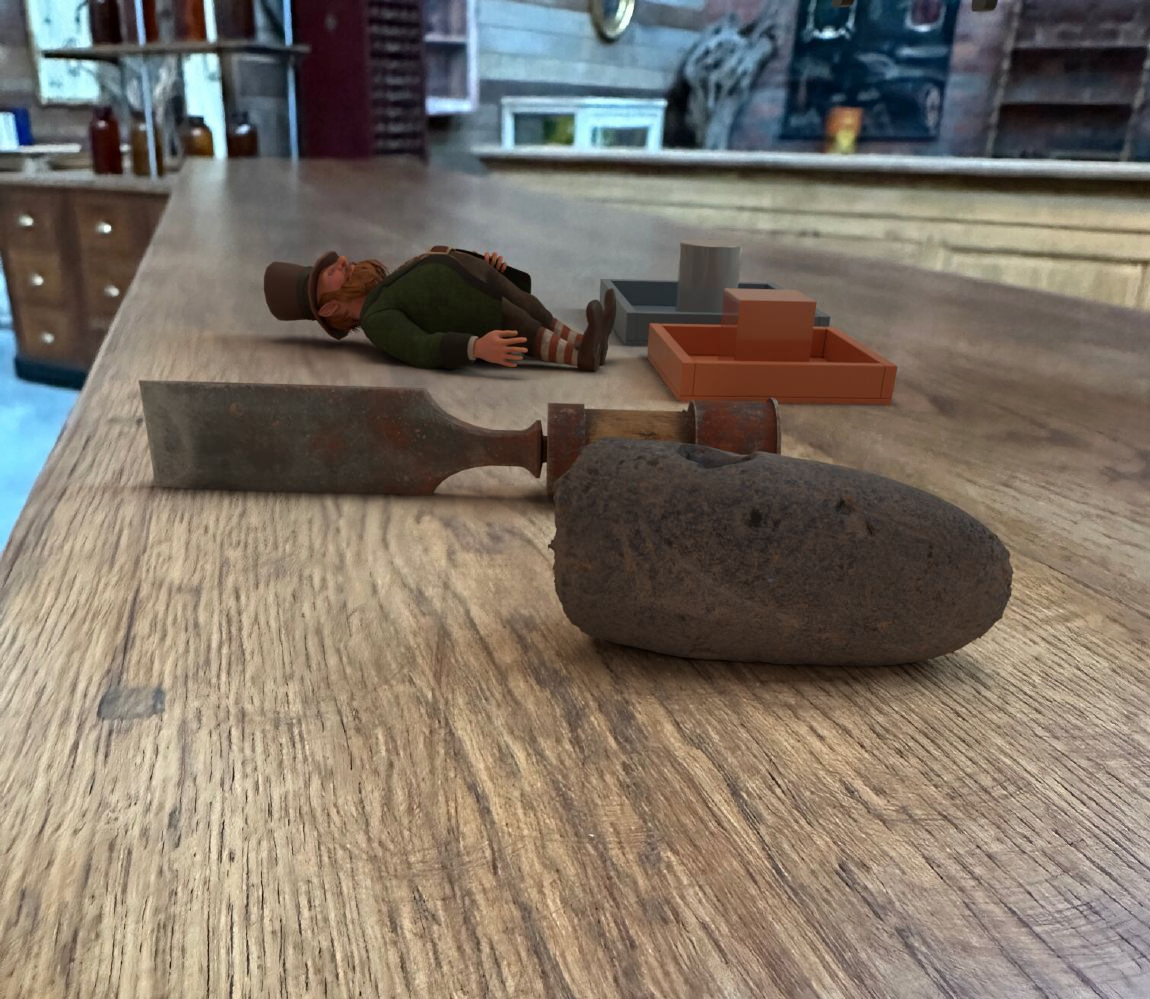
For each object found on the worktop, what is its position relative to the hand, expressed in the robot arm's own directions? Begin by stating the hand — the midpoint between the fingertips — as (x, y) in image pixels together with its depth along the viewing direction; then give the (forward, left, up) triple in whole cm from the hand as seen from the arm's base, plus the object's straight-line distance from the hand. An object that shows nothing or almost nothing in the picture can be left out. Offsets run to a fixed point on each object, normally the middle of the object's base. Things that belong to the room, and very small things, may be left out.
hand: (913, 8), depth 66 cm
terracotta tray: (+7, 0, -21) cm, 22 cm away
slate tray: (+7, -20, -21) cm, 30 cm away
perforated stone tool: (+17, +43, -22) cm, 51 cm away
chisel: (+27, +26, -22) cm, 43 cm away
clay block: (+7, 0, -21) cm, 22 cm away
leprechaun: (+29, -6, -22) cm, 36 cm away
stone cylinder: (+7, -20, -21) cm, 30 cm away
